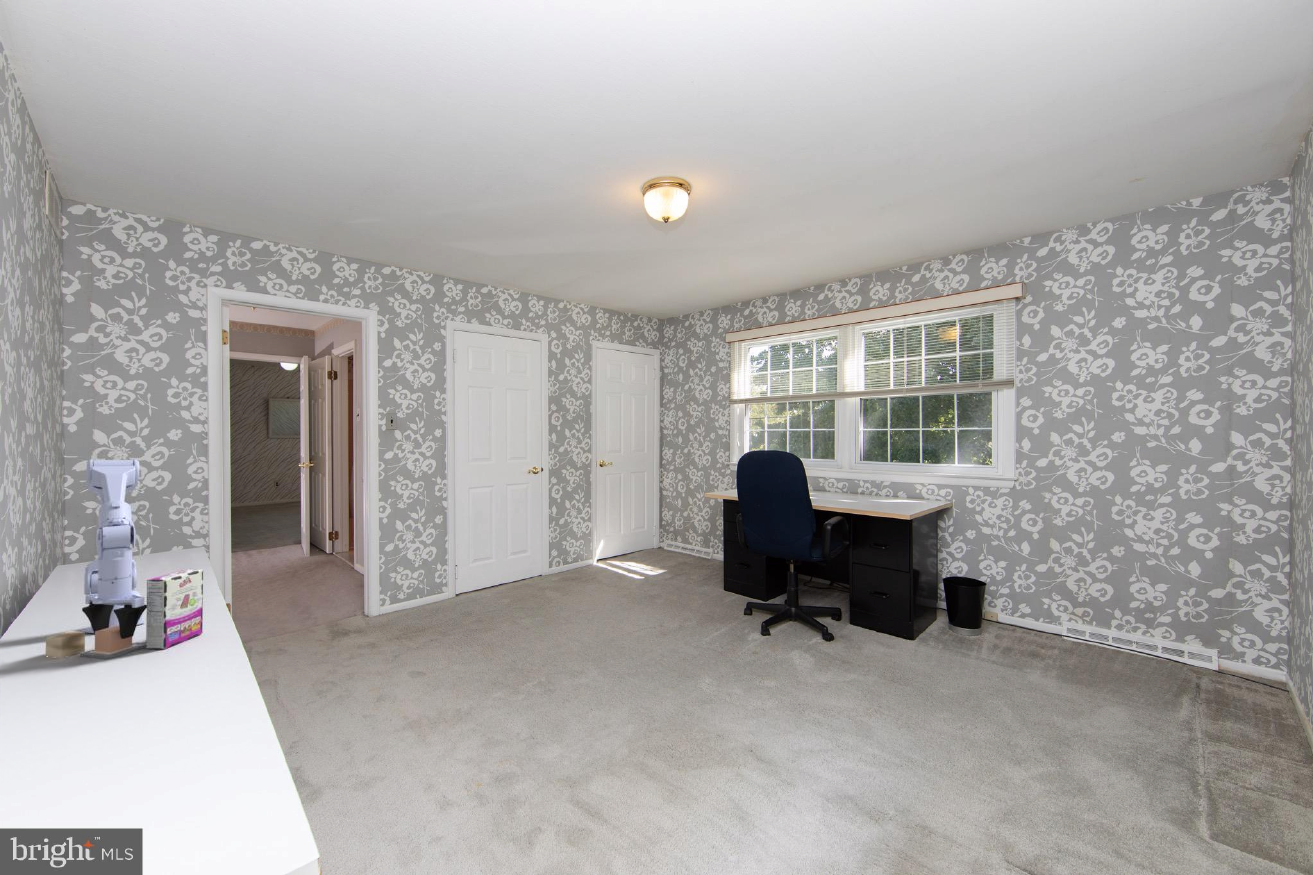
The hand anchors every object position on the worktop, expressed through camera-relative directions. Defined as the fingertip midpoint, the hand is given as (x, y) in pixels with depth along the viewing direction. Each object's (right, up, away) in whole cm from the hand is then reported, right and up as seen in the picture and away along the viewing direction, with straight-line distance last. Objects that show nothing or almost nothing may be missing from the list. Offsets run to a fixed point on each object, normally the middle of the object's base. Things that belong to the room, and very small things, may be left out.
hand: (114, 636), depth 132 cm
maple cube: (-9, -4, -2) cm, 10 cm away
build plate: (0, -4, 0) cm, 4 cm away
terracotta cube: (0, -3, 0) cm, 3 cm away
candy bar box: (+8, -4, +7) cm, 11 cm away
